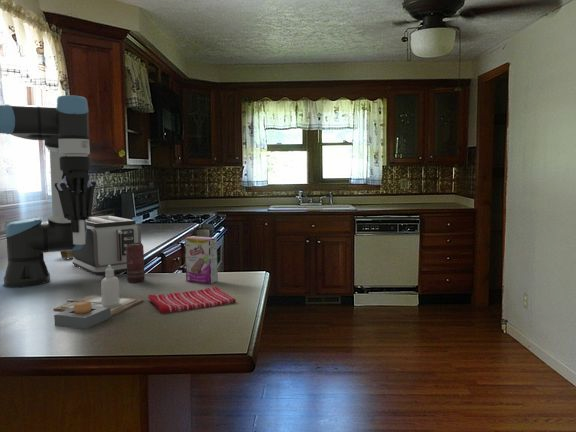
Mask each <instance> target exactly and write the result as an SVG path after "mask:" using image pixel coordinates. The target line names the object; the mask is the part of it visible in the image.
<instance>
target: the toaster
mask: <svg viewBox="0 0 576 432" xmlns="http://www.w3.org/2000/svg"><path fill="white" fill-rule="evenodd" d="M88 217H89V219H88V220H87V219H85V220H86V224H87V228H86V230H87V232H86V241H85V245H84V247H83V248H82V249H79V250H73V251H71V253H72V255H73V257H74V258H73V259H72V265H73V264H74V265H73V266H75V265H76V266H75V267H77V266H78V267H77V268H79V267H80V268H79V269H81V268H82V269H81V270H83V269H84V271H85V270H86V271H85V272H87V273H89V274H91V275H94V274H95V276H103V275H105V270H106V269H107V268H108V265H111V268H112V269H114V274H119V273H123V272H124V273H125V272H127V261H126V246H127V244H130V243H142V237H141V236H142V234H141V232H142V231H141V230H142V229H141V227H140V225H138V224H137V222H136V220H135V219H130V218H125V217H119V216H114V215H103V216H88Z"/></svg>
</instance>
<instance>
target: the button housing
mask: <svg viewBox="0 0 576 432" xmlns="http://www.w3.org/2000/svg"><path fill="white" fill-rule="evenodd" d="M91 308H92V311H91V312H88V313H86V314H76V313H74V307H73V308H70V309H68V310H65V311H59V312H58V313H55V314H53V318H54V319H53V320H54V326H55V327H63V328H73V329H81V330H87V329H89V328H91V327H93V326H96V325H98V324H100V323H102V322H105V321H106V320H109V319H111V317H112V316H111V311H110V307H102V306H92V305H91Z"/></svg>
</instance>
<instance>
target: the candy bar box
mask: <svg viewBox="0 0 576 432" xmlns="http://www.w3.org/2000/svg"><path fill="white" fill-rule="evenodd" d="M184 247H185V248H184V249H185V252H184V253H185V280H186V282H190V283H191V282H192V283H198V284H199V283H200V284H207V285H213V284H214V283H217V282H219V280H218V279H219V277H218V276H219V275H218V271H219V269H218V238H217V237H208V236H207V237H206V236H197V235H191V236H186V237H185V238H184Z"/></svg>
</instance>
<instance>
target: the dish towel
mask: <svg viewBox="0 0 576 432" xmlns="http://www.w3.org/2000/svg"><path fill="white" fill-rule="evenodd" d="M147 297H148V300H149V301H150V303H151V304H152V305H153V306H154V307H155V309H156V310H157V311H158V312H159V314H160V313H161V314H162V313H163V314H167V313H168V314H170V313H177V312H182V311H184V312H185V311H191V310H198V308H199V309H204V308H205V307H206V308H213V307H219V306H224V304H226V305H231V304H235V303H236V301H237V300H236V299H235V298H234V297H232V296H231V295H229V294H227V293H226V292H224V291H222V290H221V289H220V288H218V286H211V287H207V288H203V289H198V290H197V289H194V290H190V291H188V290H187V291H179V292H171V293H167V294H166V293H164V294H148V296H147ZM230 303H231V304H230ZM218 305H219V306H218ZM212 306H213V307H212ZM206 308H205V309H206Z"/></svg>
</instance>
